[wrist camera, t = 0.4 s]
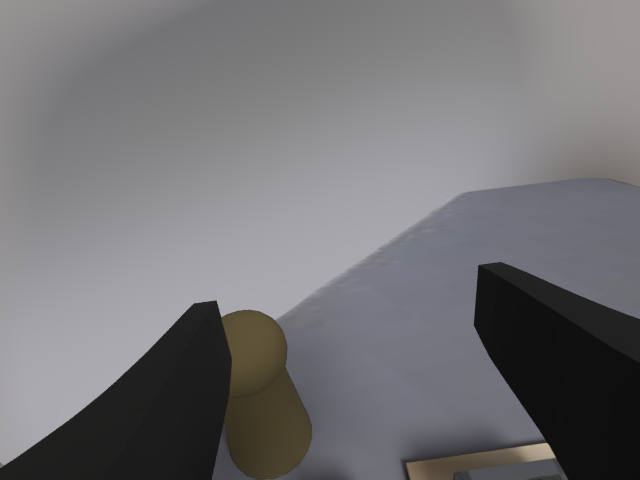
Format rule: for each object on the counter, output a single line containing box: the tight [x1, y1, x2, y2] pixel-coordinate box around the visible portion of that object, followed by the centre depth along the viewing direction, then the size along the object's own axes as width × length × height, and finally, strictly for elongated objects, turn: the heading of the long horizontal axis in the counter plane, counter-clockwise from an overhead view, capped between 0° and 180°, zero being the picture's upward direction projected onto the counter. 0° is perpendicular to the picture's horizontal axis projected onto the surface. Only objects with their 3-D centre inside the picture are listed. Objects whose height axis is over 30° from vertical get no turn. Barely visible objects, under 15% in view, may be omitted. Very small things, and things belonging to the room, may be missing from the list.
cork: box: [221, 310, 312, 479], centre depth 25 cm, size 6×6×11 cm
